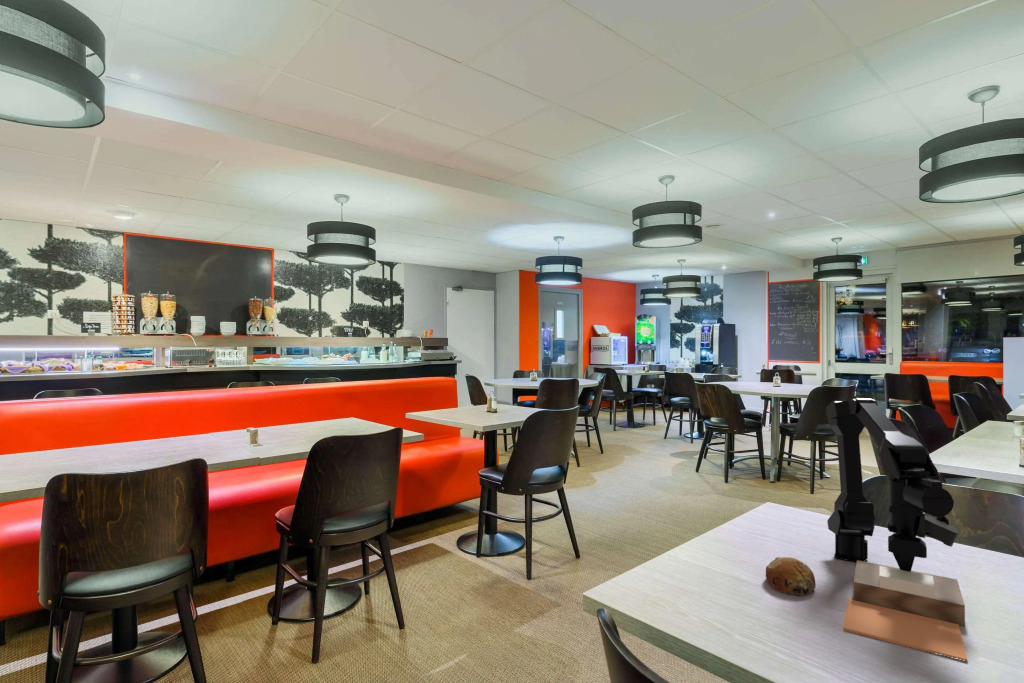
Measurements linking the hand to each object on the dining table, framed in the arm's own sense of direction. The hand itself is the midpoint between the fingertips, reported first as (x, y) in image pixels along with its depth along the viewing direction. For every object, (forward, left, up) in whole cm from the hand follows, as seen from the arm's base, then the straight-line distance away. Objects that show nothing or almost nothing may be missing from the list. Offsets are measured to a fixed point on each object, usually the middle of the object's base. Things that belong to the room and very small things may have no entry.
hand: (906, 576), depth 113 cm
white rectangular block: (0, -4, 0) cm, 4 cm away
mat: (-1, -15, -5) cm, 16 cm away
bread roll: (-21, -7, -5) cm, 23 cm away
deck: (0, 0, -5) cm, 5 cm away
